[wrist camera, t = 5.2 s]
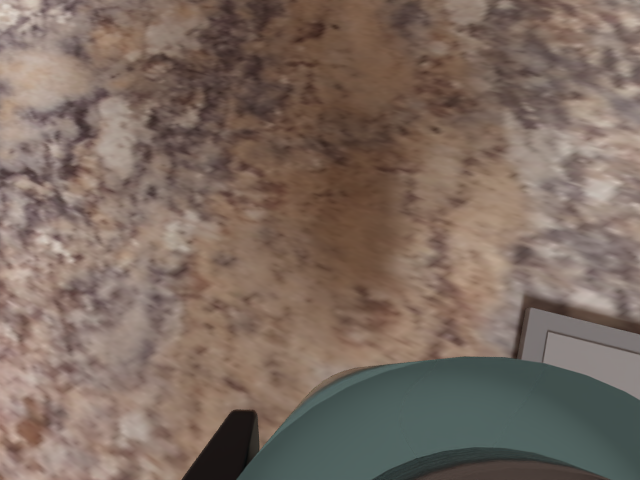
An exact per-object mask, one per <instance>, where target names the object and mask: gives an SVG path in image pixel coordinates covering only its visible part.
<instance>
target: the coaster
mask: <svg viewBox="0 0 640 480" xmlns="http://www.w3.org/2000/svg"><path fill="white" fill-rule="evenodd" d="M517 359H519V360H526V361H533V362H539V363H546V364H549V365H553V366H556V367H560V368H563V369H567V370H570V371H574V372H577V373H581V374H585V375H587V376H590V377H592V378H594V379H597V380H599V381H601V382H604V383H606V384H608V385H611V386H613V387H616V388H618V389H620V390H623V391H625V392H627V393H628V394H630V395H632V396H634V397H635V398H637V399H639V400H640V334H636V333H632V332H628V331H624V330H620V329H616V328H612V327H608V326H604V325H600V324H596V323H592V322H588V321H584V320H580V319H576V318H572V317H568V316H564V315H560V314H556V313H552V312H548V311H544V310H540V309H536V308H532V307H530V308H527V309H526V310H525V316H524V321H523V327H522V333H521V338H520V344H519V349H518V355H517Z"/></svg>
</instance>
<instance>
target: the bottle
mask: <svg viewBox="0 0 640 480" xmlns="http://www.w3.org/2000/svg"><path fill="white" fill-rule="evenodd" d="M237 480H640V400H639V399H637V398H635V397H634V396H632V395H630V394H628V393H627V392H625V391H623V390H620V389H618V388H616V387H613V386H611V385H608V384H606V383H604V382H601V381H599V380H597V379H594V378H592V377H590V376H587V375H585V374H581V373H577V372H574V371H570V370H567V369H563V368H560V367H556V366H553V365H549V364H546V363H539V362H533V361H526V360H519V359H513V358H506V357H456V358H446V359H437V360H427V361H417V362H407V363H397V364H388V365H378V366H368V367H359V368H353V369H349V370H346V371H343V372H340V373H338V374H335V375H333V376H331V377H330V378H328V379H326V380H324V381H323V382H322V383H320V384H319V385H318V386H316V387H315V388H314V389H313V390H312V391H311V392H310V393H309V394H308V395H307V396H306V397H305V398H304V399H303V400H302V402H301V403H300V404H299V405H298V406H297V408H296V409H295V410H294V411H293V412H292V413H291V415H290V416H289V417H288V418H287V419H286V420H285V422H284V423H283V424H282V425H281V426H280V428H279V429H278V430H277V431H276V432H275V433H274V435H273V436H272V437H271V438H270V439H269V440H268V442H267V443H266V444H265V445H264V446H263V447H262V449H261V450H260V451H259V452H258V453H257V455H256V456H255V457H254V458H253V459H252V460H251V462H250V463H249V464H248V465H247V467H246V468H245V469H244V471H243V472H242V473H241V474H240V476H239V477H238V478H237Z"/></svg>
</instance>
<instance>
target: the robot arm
mask: <svg viewBox="0 0 640 480" xmlns="http://www.w3.org/2000/svg"><path fill="white" fill-rule="evenodd" d="M258 452H259V431H258V417H257V413H256V411H254V410H238V409H237V410H233V411H232V412H231V413H230V414H229V415H228V416H227V418H226V419H225V420H224V422H223V423H222V425H221V426H220V427H219V429H218V430H217V431H216V433H215V434H214V436H213V437H212V438H211V440H210V441H209V442H208V444H207V445H206V447H205V448H204V449H203V451H202V452H201V453H200V455H199V456H198V458H197V459H196V460H195V462H194V463H193V464H192V466H191V467H190V469H189V470H188V471H187V473H186V474H185V475H184V477H183V478H182V480H237V478H238V477H239V476H240V474H241V473H242V472H243V471H244V469H245V468H246V467H247V465H248V464H249V463H250V462H251V460H252V459H253V458H254V457H255V456H256V455H257V453H258Z"/></svg>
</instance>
